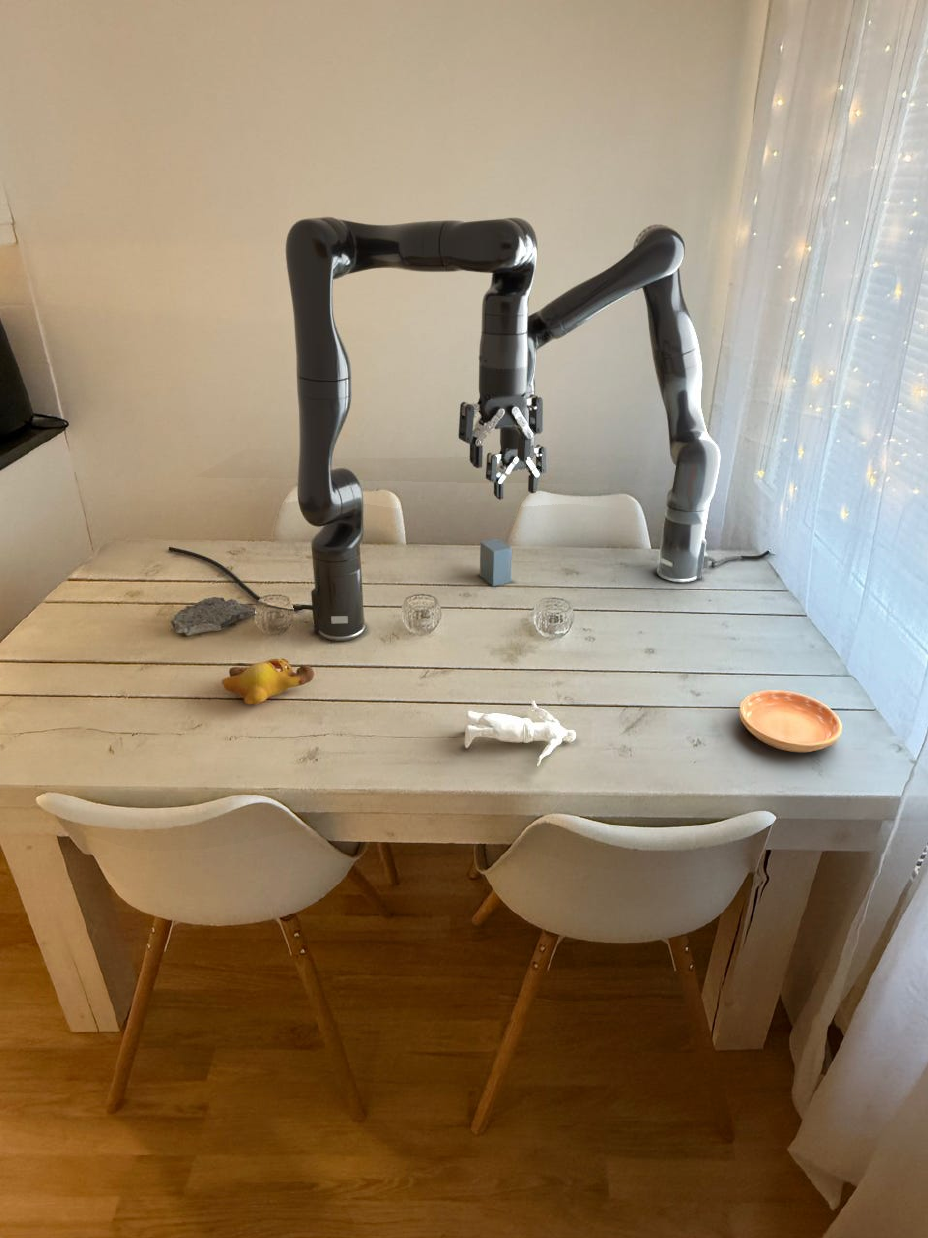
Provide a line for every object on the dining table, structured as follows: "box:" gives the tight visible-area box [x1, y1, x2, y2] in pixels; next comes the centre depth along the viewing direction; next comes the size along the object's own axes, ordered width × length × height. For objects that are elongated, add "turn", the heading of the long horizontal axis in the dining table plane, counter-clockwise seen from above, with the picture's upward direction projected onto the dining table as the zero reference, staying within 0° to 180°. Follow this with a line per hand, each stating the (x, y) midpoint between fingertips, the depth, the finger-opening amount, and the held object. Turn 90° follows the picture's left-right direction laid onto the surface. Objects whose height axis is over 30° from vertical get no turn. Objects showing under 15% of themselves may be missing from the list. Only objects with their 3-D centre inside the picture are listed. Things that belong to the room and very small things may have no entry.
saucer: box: [739, 689, 843, 753], centre depth 136 cm, size 16×16×3 cm
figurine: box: [464, 699, 577, 767], centre depth 133 cm, size 17×5×18 cm
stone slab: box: [170, 596, 256, 637], centre depth 168 cm, size 12×17×3 cm
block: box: [479, 537, 513, 587], centre depth 185 cm, size 5×6×8 cm
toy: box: [221, 658, 315, 705], centre depth 144 cm, size 11×6×15 cm
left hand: (500, 463), depth 134 cm, fingers open, 8 cm apart
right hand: (515, 495), depth 183 cm, fingers open, 8 cm apart
